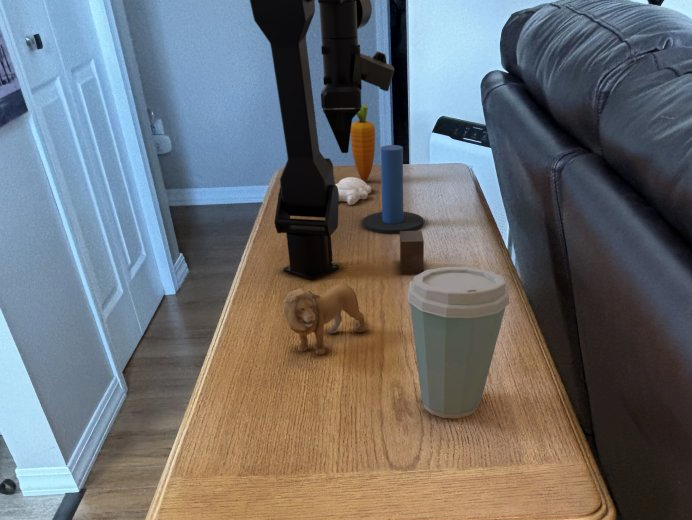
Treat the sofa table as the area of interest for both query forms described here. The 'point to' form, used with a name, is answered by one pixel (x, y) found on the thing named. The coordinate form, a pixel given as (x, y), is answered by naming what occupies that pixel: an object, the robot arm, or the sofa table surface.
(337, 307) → the lion figurine
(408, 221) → the coaster
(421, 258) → the lean block
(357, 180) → the white turtle figurine
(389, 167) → the tube
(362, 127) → the carrot
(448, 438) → the sofa table surface
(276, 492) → the sofa table surface
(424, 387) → the disposable coffee cup
